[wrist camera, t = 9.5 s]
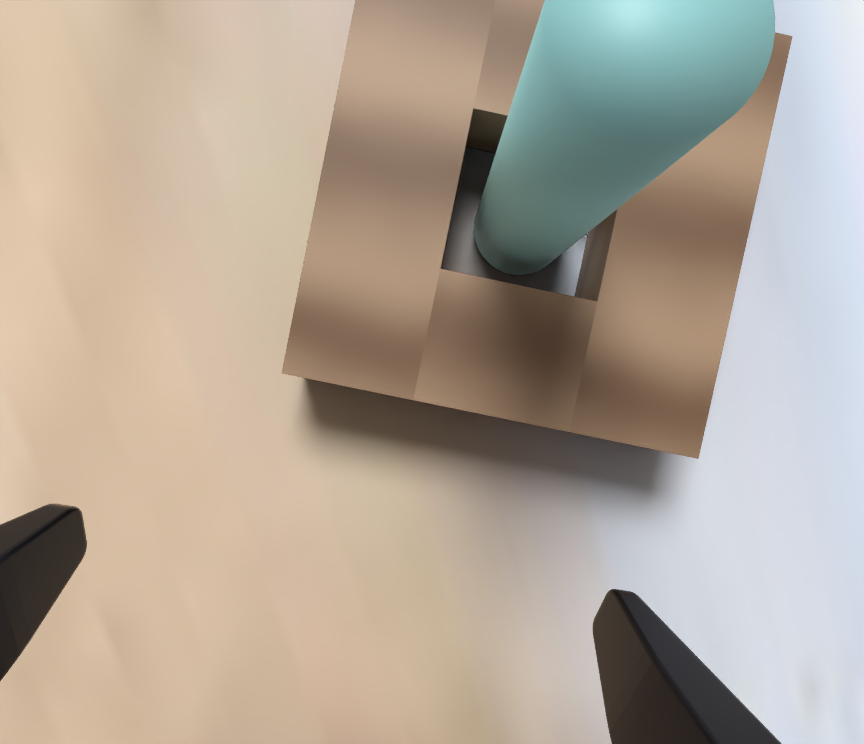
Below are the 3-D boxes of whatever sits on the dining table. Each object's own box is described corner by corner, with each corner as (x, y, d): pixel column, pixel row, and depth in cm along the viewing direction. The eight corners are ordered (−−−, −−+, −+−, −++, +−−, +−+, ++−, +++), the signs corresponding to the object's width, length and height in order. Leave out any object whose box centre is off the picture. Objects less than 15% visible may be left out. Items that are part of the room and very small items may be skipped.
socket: (657, 443, 20) (698, 458, 17) (303, 371, 20) (281, 373, 17) (736, 85, 20) (792, 36, 17) (376, 7, 19) (367, -58, 16)
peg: (561, 277, 20) (765, 151, 8) (471, 272, 20) (534, 136, 8) (568, 185, 20) (784, -86, 8) (476, 180, 20) (550, -102, 8)
